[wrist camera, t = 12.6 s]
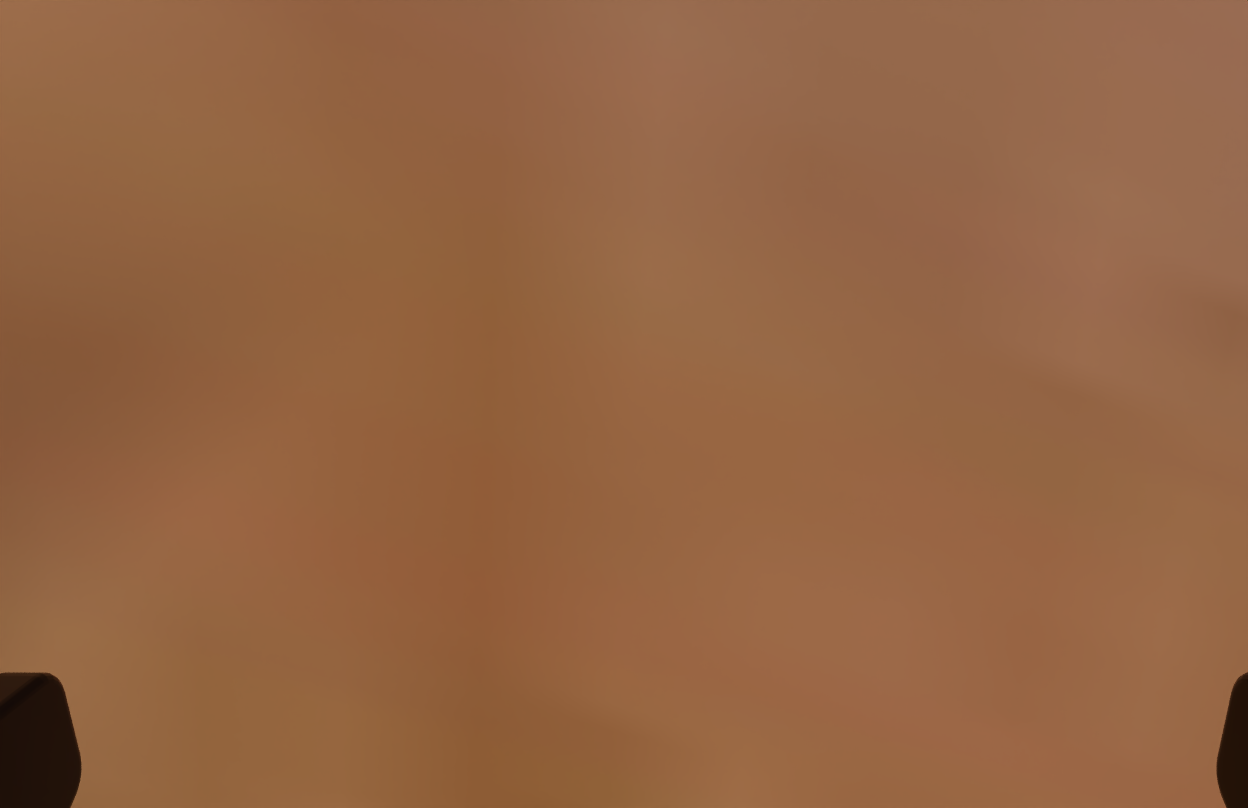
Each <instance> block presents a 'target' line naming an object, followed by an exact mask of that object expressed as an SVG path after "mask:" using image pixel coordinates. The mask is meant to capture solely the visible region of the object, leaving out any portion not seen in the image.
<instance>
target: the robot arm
mask: <svg viewBox="0 0 1248 808" xmlns="http://www.w3.org/2000/svg"><path fill="white" fill-rule="evenodd" d="M80 778H81V757H80V752H79V748H78V744H77V740H76V736H75V731H74V727H73V723H72V719H71V715H70V711H69V707H68V703H67V699H66V695H65V691H64V688H63V686H62V684H61V682H60V681H59V679H58V678H57V677H55V676H53V675H52V674H50V673H1V674H0V808H70V807H71V805H72V803H73V800H74V798H75V796H76V793H77V790H78V787H79V783H80ZM1217 780H1218V785H1219V789H1220V793H1221V795H1222V798H1223V801H1224V803H1225V805H1226V808H1248V672H1247V673H1245V674H1243V675H1242V676H1240V677H1239V678H1238V679H1237V681H1236V682H1235V684H1234V686H1233V689H1232V692H1231V697H1230V701H1229V706H1228V711H1227V715H1226V720H1225V725H1224V729H1223V734H1222V739H1221V743H1220V748H1219V752H1218V757H1217Z"/></svg>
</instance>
